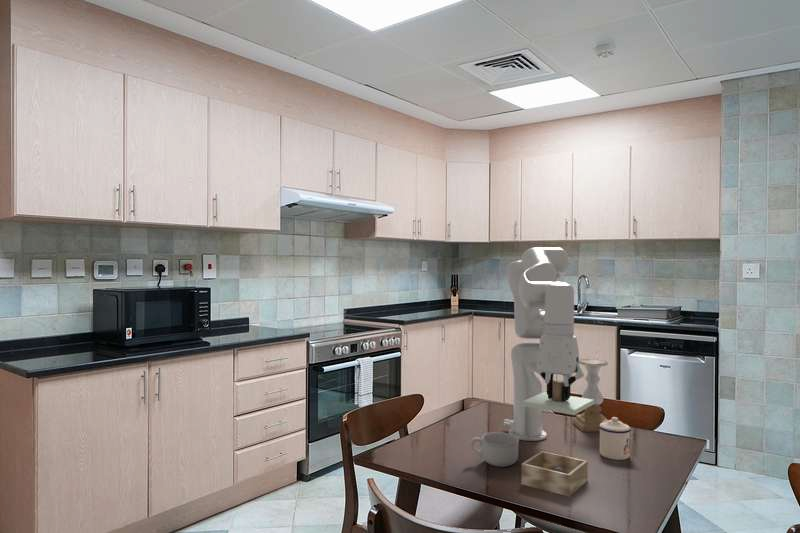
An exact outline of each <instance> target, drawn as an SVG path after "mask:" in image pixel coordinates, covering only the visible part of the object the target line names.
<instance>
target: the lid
mask: <svg viewBox="0 0 800 533" xmlns="http://www.w3.org/2000/svg"><path fill="white" fill-rule="evenodd" d="M562 386H564V380H557V379H556V380H553V381H552V398H551V399H548V395H547V391H544V392H543V391H542V393H541V394H538V395H536V396H534V397H531V398H529V399H527V400H524V401H522V406H525V407H531V408H536V409H542V411H548V412H554V413H561V414H566V415H571V416H576V415H578V414H579V413H581V412H583V411H585V410H584V409H586V408H588V407H590V406H591V405H593V404H594V400H593V399H587V398H582V397H579V396H573V395H570V398H569V400H567V401H562Z"/></svg>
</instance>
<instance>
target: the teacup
mask: <svg viewBox="0 0 800 533" xmlns="http://www.w3.org/2000/svg"><path fill="white" fill-rule="evenodd" d="M475 442H479V445H480V447H481V450H479V449H477V448H476V447H475ZM519 442H520V440H519V439H518V438H517V437H516V436H514V435H512V434H509V432H502V431H501V432H500V431H494V432H493V431H492V432H487V433H486V432H485V433H484V434H483V435H482V436H481V437H478V436H475V437H472V438H471V439H470V447H471V449H472V451H473V452H475V453H476V454H478V455H479V456H480V457H481V459H483V460H484V461H485V462H486V463H487V464H489V465H490V466H493V467H497V468H499V467H500V468H504V467H510V466H512V465H514V464H515V463H516V462H517V460H518V458H519Z"/></svg>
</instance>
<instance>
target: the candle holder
mask: <svg viewBox="0 0 800 533" xmlns="http://www.w3.org/2000/svg"><path fill="white" fill-rule="evenodd" d="M608 364H609V362H608V361H606V360H603V359H598V358H597V359H596V358H582V359H581V358H579V365H581V366H584V368H585V369H586V371H587V375H586V376H585V378H584V379H585V381H586V383H587V386H586V389H585V390H584V391H583V393H582V394H581V395H582V396H581V398H587V399H593V400H594V404H593V405H591V406H590V407H588V408H586V409H584V410H583V411H584V412H582V413H581V414H579V413H578V414H575V417H573V418H572V425H574V426H575V427H577V429H579V430H580V431H581V432H587V433H597V432H598V433H600V428H599V425H600V424H601V423H602V422H607V421H609V420H610V419H607V418H606V417H605V416H604V415H603V414H602V413H600V412H602V407H601V404H602V403H603V402H604V396H603V394H602V391H601V390H600V389H599V387H598V384H599V382H600V381H601V378H600V376H599V371H600V370H601V367H606V366H608Z"/></svg>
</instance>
